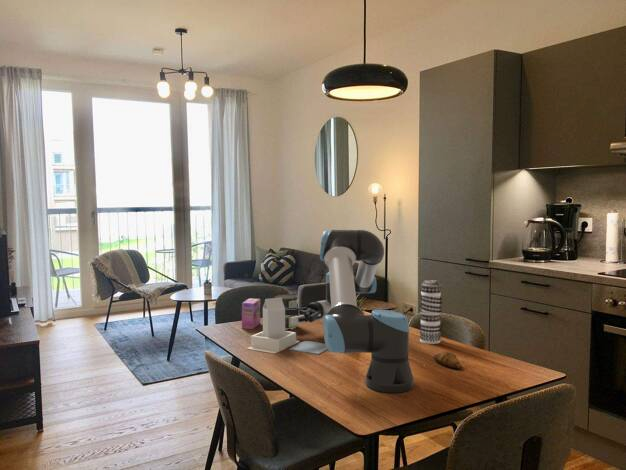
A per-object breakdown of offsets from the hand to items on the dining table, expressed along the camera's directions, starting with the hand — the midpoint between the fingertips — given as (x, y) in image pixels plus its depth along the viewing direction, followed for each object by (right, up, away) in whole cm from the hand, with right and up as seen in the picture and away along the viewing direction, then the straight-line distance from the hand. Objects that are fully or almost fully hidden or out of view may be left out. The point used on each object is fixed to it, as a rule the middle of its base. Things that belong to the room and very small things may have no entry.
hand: (280, 318), depth 213 cm
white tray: (-2, -11, -2) cm, 11 cm away
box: (-15, -8, +29) cm, 34 cm away
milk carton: (-2, -11, -2) cm, 11 cm away
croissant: (+61, -13, -26) cm, 67 cm away
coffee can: (+1, -9, +27) cm, 28 cm away
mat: (+13, -11, -6) cm, 18 cm away
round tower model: (+61, -10, +4) cm, 62 cm away
